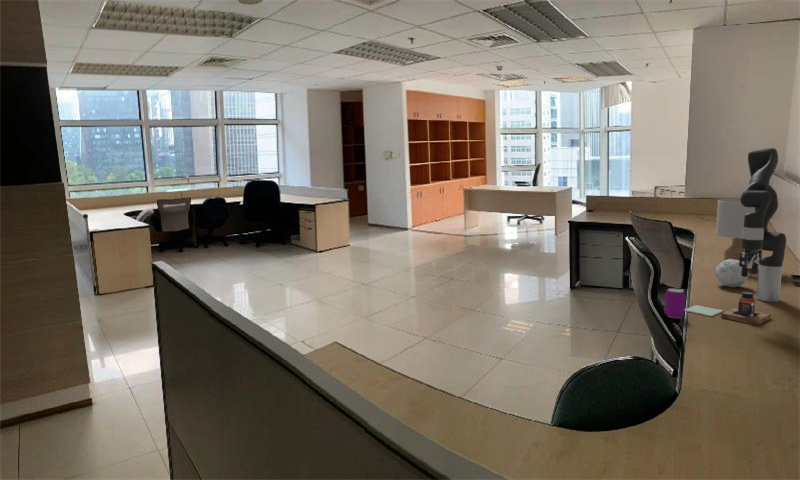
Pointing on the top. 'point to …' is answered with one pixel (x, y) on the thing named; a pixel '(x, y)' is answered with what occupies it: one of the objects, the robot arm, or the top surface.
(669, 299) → the beverage can
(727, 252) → the lamp
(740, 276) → the puzzle ball
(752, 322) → the socket block
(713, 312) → the pad
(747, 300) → the supplement bottle
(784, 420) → the top surface
